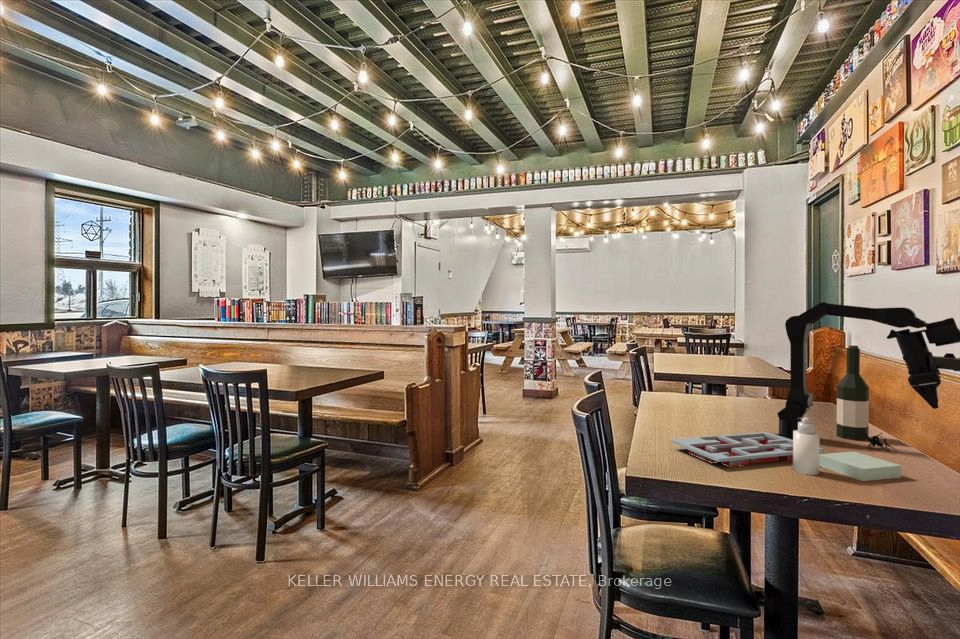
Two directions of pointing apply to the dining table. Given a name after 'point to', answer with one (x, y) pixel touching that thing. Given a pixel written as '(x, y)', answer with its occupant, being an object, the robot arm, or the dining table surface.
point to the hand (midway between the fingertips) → (935, 405)
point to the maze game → (740, 448)
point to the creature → (877, 441)
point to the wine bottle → (853, 400)
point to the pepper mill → (806, 448)
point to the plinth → (859, 466)
